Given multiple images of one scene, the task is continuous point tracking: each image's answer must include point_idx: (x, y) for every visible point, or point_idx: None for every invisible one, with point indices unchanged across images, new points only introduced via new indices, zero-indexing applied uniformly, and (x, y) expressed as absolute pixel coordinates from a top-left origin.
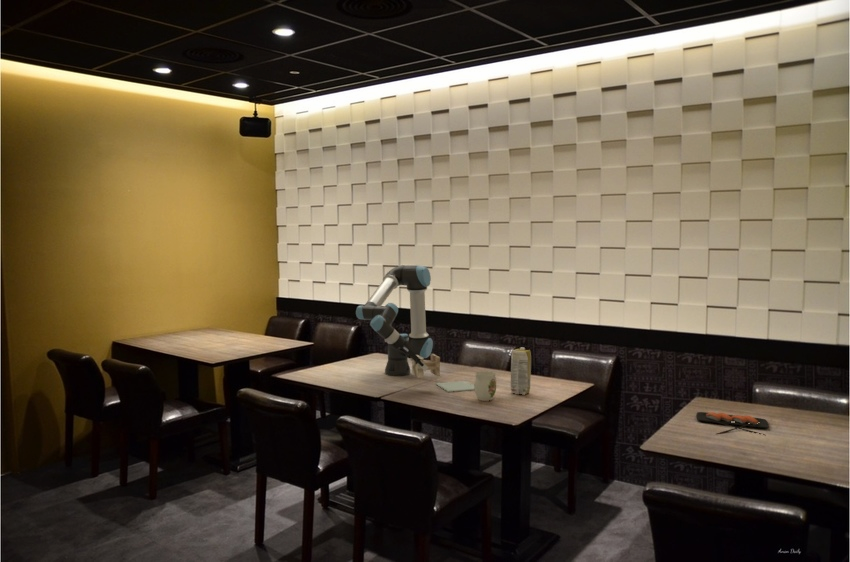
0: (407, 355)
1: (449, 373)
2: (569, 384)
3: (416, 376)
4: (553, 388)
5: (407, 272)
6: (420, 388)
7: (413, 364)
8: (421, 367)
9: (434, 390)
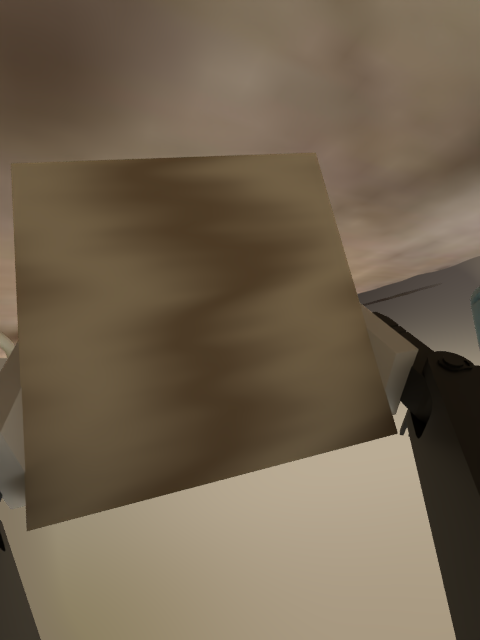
0: (457, 454)
1: (384, 254)
2: None
3: (101, 161)
4: None
5: None
6: (235, 90)
7: (287, 298)
8: (17, 352)
9: None
